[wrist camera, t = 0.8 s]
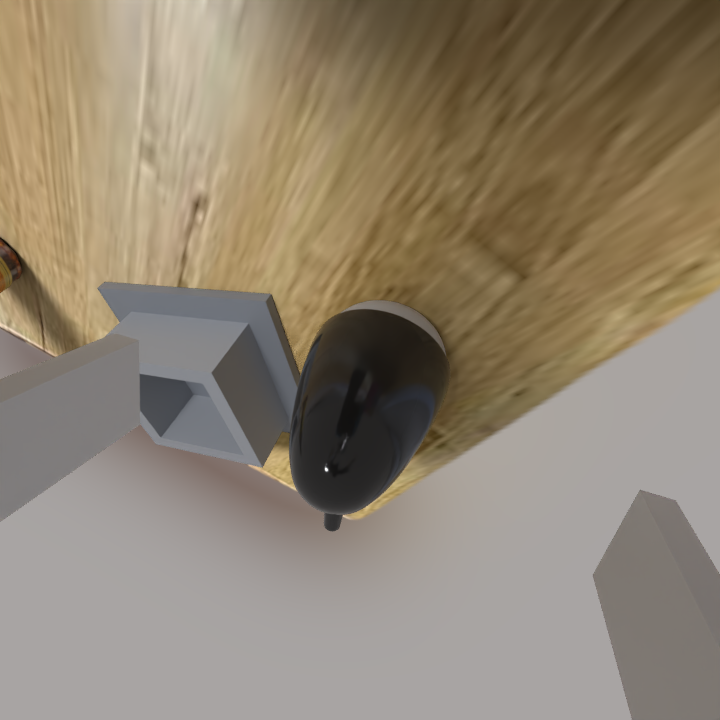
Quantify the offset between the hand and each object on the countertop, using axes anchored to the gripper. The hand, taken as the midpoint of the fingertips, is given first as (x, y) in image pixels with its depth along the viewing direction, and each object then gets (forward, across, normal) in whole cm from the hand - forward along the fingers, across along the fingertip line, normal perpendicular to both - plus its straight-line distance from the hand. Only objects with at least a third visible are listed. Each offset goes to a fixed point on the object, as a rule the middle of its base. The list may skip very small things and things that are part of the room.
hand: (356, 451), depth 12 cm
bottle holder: (+28, -20, -14) cm, 37 cm away
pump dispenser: (+24, -2, -5) cm, 24 cm away
